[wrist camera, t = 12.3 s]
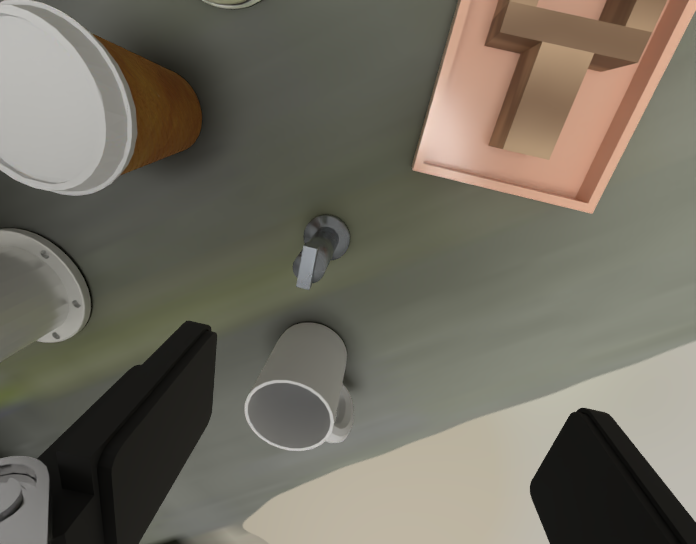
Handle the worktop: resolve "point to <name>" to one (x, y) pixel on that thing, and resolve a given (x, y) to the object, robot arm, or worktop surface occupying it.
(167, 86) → the disposable coffee cup
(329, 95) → the worktop surface
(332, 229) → the grey piece
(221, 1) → the coffee can
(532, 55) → the brown square frame
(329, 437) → the cup
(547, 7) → the tray
